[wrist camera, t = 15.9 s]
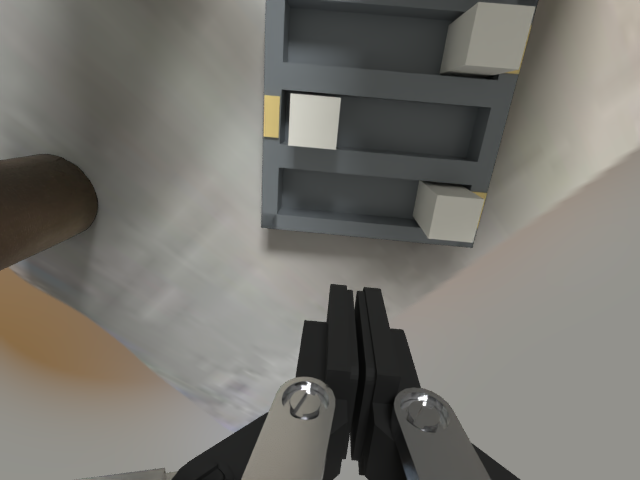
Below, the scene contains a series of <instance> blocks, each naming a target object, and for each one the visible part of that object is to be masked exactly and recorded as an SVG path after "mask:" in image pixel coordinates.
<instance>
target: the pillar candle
mask: <svg viewBox="0 0 640 480" xmlns="http://www.w3.org/2000/svg"><path fill="white" fill-rule="evenodd" d="M97 202H98V201H97V197H96V193H95V191H94V188H93V186H92V184H91V182H90V181H89V179H88V178H87V177H86V176H85V174H84V173H83V172H82V171H81V170H80V169H79V168H78V167H77V166H76V165H74V164H72V163H71V162H69V161H67V160H65V159H64V158H61V157H59V156H55V155H50V154H39V155H32V156H26V157H19V158H12V159H6V160H0V270H2V269H4V268H7V267H9V266H11V265H13V264H15V263H18V262H19V261H22V260H24V259H26V258H28V257H30V256H32V255H35V254H37V253H39V252H41V251H43V250H45V249H47V248H50V247H52V246H54V245H56V244H58V243H61V242H63V241H65V240H67V239H69V238H71V237H73V236H75V235H77V234H79V233H81V232H83V231H85V230H87V229H88V227H89V226H90V225H91V224H92V222H93V220H94V219H95V216H96V213H97V209H98V204H97Z"/></svg>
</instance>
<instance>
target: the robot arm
mask: <svg viewBox="0 0 640 480" xmlns="http://www.w3.org/2000/svg"><path fill="white" fill-rule="evenodd" d="M349 435H350V440H351V458H352V460H357V461H358V465H359V475H365V477H366V478H367V479H368V480H520V479H519V478H517V477H516V476H515V475H513V474H512V473H511V472H509V471H508V470H506V469H505V468H504V467H503V466H501V465H500V464H499V463H497V462H496V461H495V460H493V459H492V458H491V457H489V456H488V455H487V454H485V453H484V452H483V451H481V450H480V449H479V448H477V447H476V446H475V445H473V444H472V443H471V442H470V440H469V438H468V437H467V435H466V433H465V431H464V429H463V428H462V426H461V424H460V422H459V420H458V418H457V416H456V415H455V413H454V411H453V410H452V408H451V407H450V405H449V404H448V403H447V402H446V401H445V400H444V399H443V398H442V397H440V396H439V395H437V394H435V393H434V392H432V391H429V390H426V389H423V388H421V387H420V383H419V380H418V377H417V373H416V370H415V366H414V363H413V360H412V356H411V353H410V349H409V346H408V342H407V339H406V336H405V333H404V331H403V330H401V329H390V327H389V323H388V318H387V314H386V310H385V306H384V301H383V297H382V293H381V289H378V288H367V287H364V288H363V291H357V295H356V302H355V309H354V301H353V290H347V286H346V285H335V284H331V285H330V294H329V304H328V314H327V322H317V321H307V320H305V321H304V326H303V333H302V339H301V346H300V352H299V359H298V365H297V372H296V378H293V379H291V380H289V381H287V382H285V383H284V384H283V385H282V386H281V387H280V388H279V390H278V391H277V393H276V396H275V398H274V401H273V403H272V405H271V408H270V410H269V412H267V413H266V414H264V415H262V416H261V417H259V418H258V419H256V420H254V421H253V422H251V423H250V424H248V425H246V426H245V427H243V428H242V429H240V430H238V431H237V432H235V433H234V434H232V435H231V436H229V437H227V438H226V439H224V440H222V441H221V442H219V443H218V444H216V445H215V446H213V447H212V448H210V449H208V450H207V451H205V452H203V453H202V454H200V455H199V456H197V457H195V458H194V459H192V460H191V461H189V462H188V463H187V464H186V465H184V466H183V467H182V468H180V469H179V471H177V472H170V473H166V472H165V468H160V469H153V470H145V471H138V472H130V473H123V474H114V475H107V476H99V477H91V478H85V479H76V480H333V479H334V478H335V477H336V476H337V475H338V474H340V468H341V462H342V459H346V454H347V448H348V441H349Z"/></svg>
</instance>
